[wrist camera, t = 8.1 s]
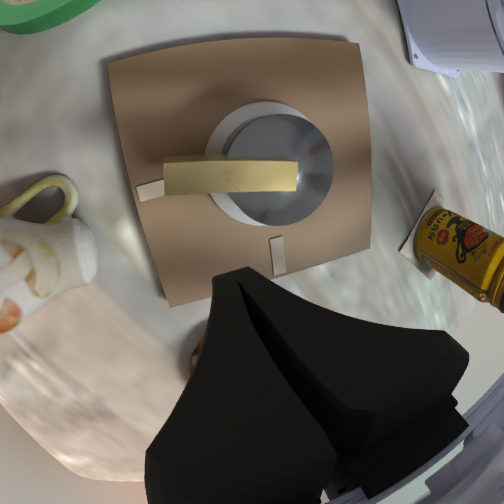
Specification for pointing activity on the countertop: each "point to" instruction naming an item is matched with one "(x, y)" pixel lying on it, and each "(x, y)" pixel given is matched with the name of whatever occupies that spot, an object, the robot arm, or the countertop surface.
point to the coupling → (261, 169)
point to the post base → (214, 137)
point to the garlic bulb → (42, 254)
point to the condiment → (458, 252)
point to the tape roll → (39, 14)
